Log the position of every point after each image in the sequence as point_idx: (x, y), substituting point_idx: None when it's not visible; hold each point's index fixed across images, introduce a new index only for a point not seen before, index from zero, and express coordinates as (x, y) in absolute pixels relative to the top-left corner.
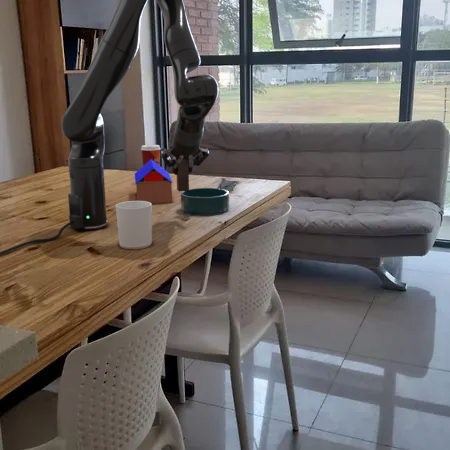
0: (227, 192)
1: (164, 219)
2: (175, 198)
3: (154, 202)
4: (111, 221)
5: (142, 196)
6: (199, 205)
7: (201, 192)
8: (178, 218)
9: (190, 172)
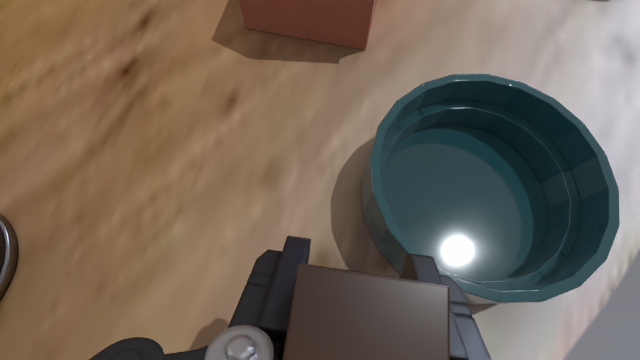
0: (612, 216)
1: None
2: (392, 4)
3: (303, 36)
4: (57, 226)
5: (260, 9)
6: None
7: (484, 94)
8: None
9: None
